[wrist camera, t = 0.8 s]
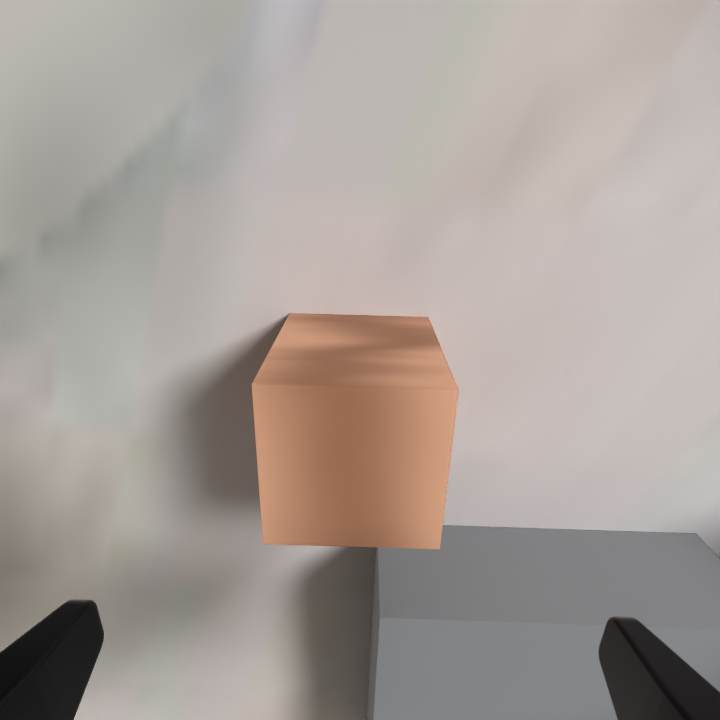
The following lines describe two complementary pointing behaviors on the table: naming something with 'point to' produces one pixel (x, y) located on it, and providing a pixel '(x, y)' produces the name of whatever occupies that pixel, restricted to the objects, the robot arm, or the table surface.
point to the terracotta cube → (354, 432)
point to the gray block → (530, 619)
